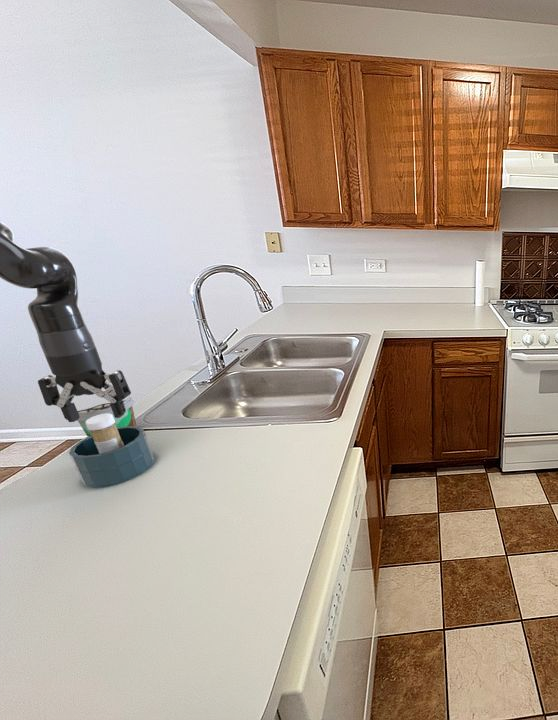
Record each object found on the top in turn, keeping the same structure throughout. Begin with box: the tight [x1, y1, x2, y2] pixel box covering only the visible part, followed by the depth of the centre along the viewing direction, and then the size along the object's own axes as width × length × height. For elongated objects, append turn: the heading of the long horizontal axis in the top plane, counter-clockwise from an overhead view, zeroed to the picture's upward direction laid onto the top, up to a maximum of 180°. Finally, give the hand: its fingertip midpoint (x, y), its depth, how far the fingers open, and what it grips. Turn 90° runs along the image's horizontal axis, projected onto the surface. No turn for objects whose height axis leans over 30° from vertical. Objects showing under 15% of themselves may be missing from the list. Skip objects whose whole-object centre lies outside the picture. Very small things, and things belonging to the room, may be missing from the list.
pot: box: [68, 426, 155, 489], centre depth 91 cm, size 13×13×8 cm
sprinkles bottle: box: [85, 414, 124, 454], centre depth 90 cm, size 5×5×14 cm
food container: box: [75, 395, 138, 437], centre depth 102 cm, size 12×6×10 cm, turn 129°
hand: (97, 418), depth 87 cm, fingers open, 8 cm apart
